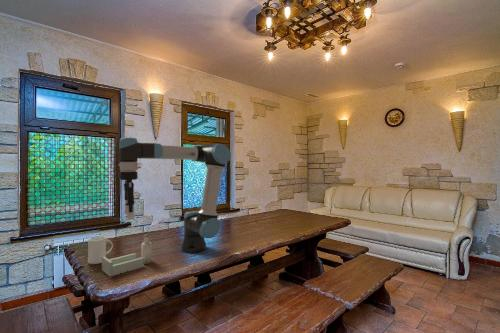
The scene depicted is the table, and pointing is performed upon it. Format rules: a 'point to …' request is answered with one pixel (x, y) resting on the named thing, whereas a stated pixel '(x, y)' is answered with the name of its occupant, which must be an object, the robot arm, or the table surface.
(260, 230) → the table surface
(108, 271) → the cradle
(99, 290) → the table surface
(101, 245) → the mug
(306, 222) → the table surface
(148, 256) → the bottle
